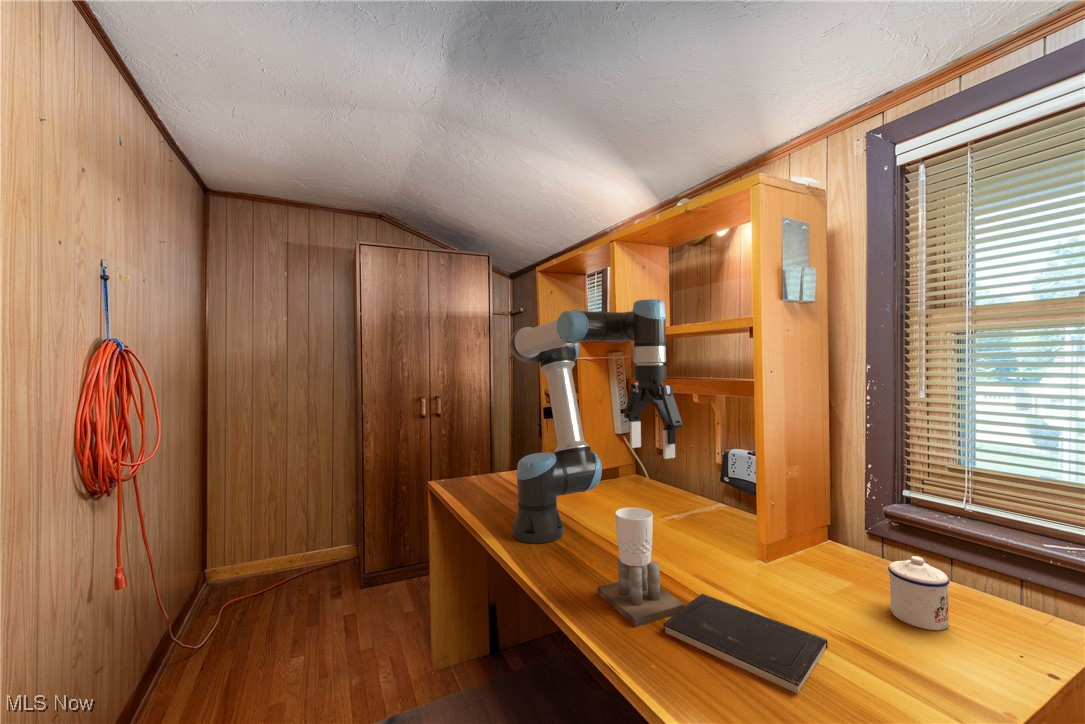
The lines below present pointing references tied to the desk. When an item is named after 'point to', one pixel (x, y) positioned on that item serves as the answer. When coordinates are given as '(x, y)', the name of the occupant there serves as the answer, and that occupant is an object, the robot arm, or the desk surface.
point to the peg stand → (640, 594)
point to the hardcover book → (748, 640)
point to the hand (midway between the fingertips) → (651, 452)
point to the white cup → (634, 535)
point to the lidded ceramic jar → (919, 594)
